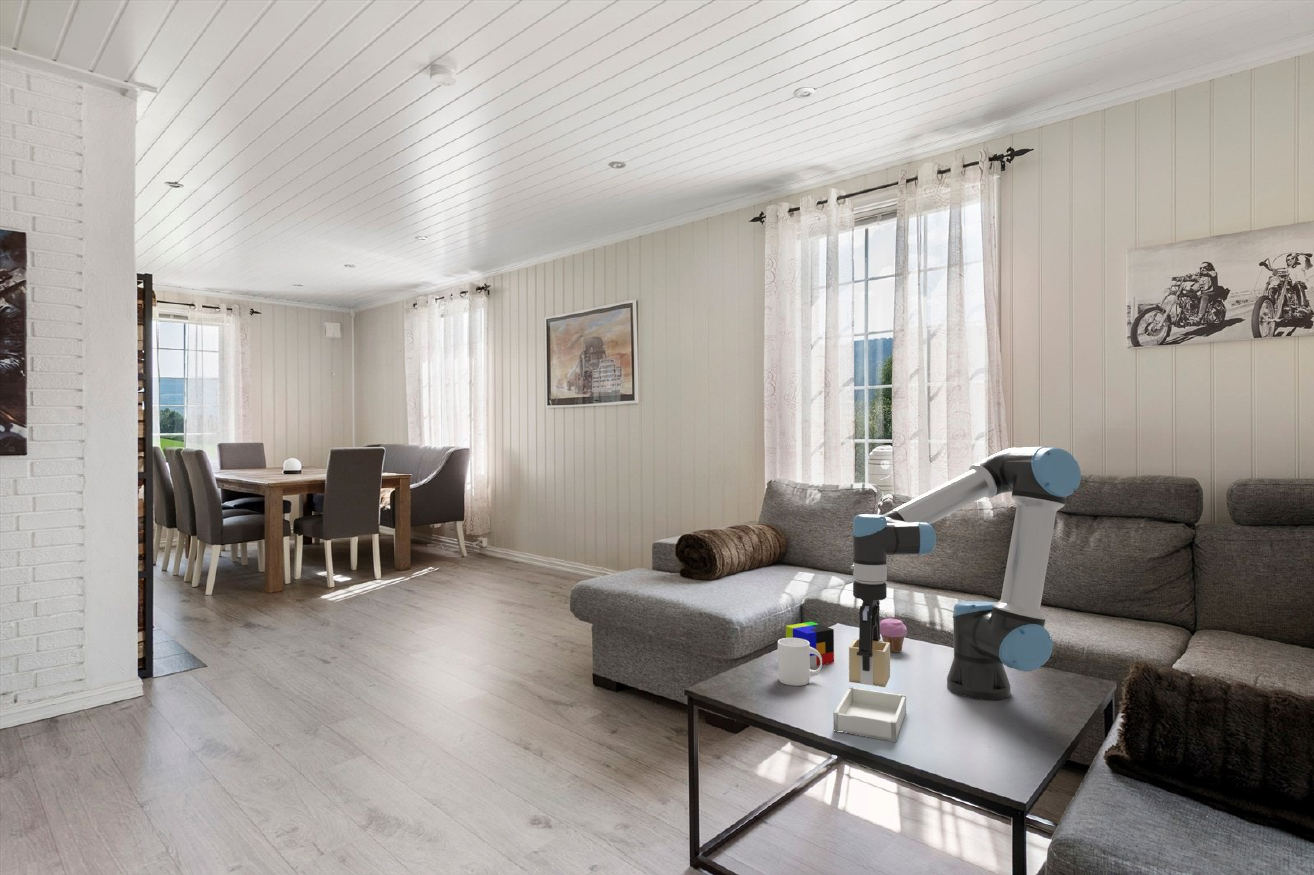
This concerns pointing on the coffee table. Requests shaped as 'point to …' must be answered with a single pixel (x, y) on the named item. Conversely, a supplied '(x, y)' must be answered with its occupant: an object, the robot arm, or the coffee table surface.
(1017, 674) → the coffee table surface
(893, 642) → the cupcake
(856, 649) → the small crate
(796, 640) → the mug
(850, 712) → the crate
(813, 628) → the puzzle toy
